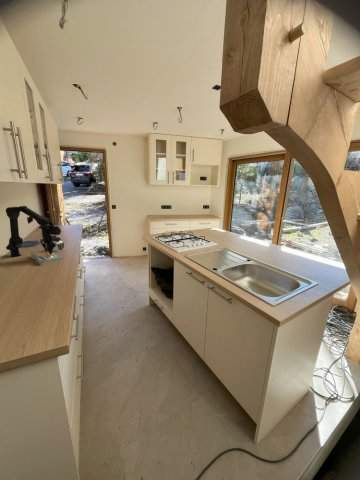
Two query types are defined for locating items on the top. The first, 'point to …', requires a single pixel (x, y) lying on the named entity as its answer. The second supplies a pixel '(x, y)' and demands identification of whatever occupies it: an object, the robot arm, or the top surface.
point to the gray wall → (36, 258)
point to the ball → (48, 254)
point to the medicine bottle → (58, 245)
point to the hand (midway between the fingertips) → (48, 253)
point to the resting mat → (53, 257)
